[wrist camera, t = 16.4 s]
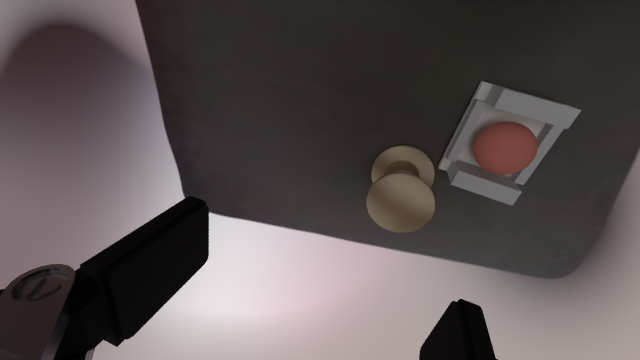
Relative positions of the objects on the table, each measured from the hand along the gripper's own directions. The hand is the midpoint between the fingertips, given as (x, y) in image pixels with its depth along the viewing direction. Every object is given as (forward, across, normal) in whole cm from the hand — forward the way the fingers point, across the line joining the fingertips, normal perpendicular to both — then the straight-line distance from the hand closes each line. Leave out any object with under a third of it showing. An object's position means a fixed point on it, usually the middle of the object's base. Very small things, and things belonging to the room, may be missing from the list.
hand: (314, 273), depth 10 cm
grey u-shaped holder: (+28, -13, -1) cm, 31 cm away
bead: (+27, -13, -1) cm, 30 cm away
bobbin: (+28, -5, +6) cm, 29 cm away
